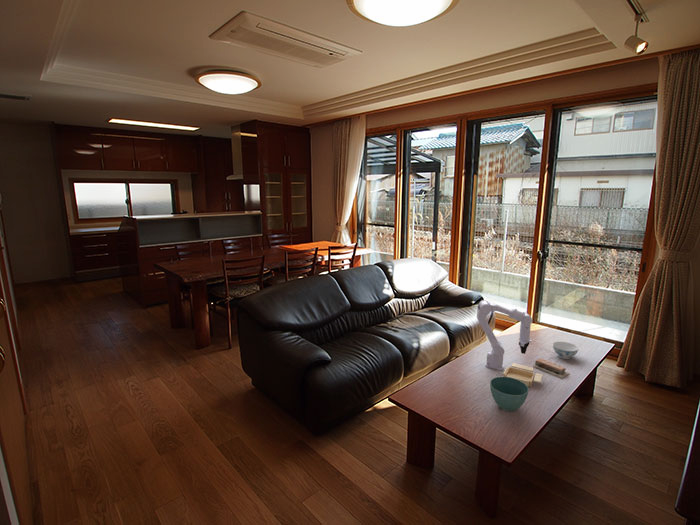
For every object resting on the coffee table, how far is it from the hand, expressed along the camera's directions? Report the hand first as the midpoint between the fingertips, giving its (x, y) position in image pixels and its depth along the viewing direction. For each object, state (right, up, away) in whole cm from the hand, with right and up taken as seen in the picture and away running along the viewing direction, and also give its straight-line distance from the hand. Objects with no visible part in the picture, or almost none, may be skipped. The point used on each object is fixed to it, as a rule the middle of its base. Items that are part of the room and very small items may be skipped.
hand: (523, 353), depth 228 cm
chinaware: (+36, -7, +17) cm, 40 cm away
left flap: (-4, -8, -6) cm, 11 cm away
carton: (-8, -13, -11) cm, 18 cm away
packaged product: (+17, -11, -1) cm, 20 cm away
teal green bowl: (-27, -19, -38) cm, 50 cm away
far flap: (-1, -10, -16) cm, 19 cm away
